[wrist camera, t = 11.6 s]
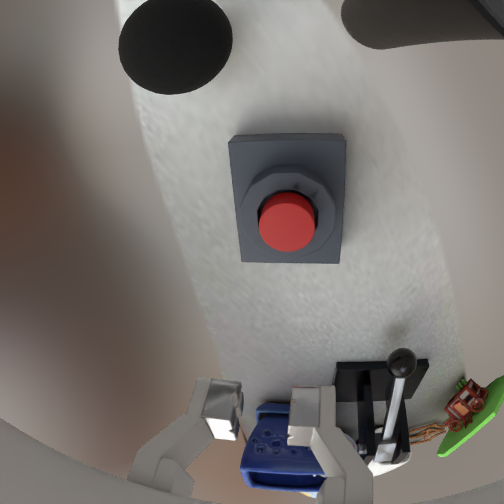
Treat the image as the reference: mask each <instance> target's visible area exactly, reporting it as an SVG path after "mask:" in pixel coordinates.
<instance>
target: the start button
mask: <svg viewBox="0 0 504 504" xmlns="http://www.w3.org/2000/svg"><path fill="white" fill-rule="evenodd" d="M259 231H260V234H261V237H262V238H263V240H264V241H265V242H266V243H267V244H268V245H269V246H270V247H272V248H274V249H276V250H279V251H284V252H291V251H296V250H299V249H301V248H303V247H305V246H306V245H307V244H308V243H309V242H310V241H311V239H312V238H313V235H314V232H315V220H314V211H313V208H312V206H311V204H310V203H309V202H308V201H307V200H306V199H305V198H304V197H302V196H301V195H298V194H296V193H291V192H284V193H279V194H276V195H274V196H273V197H271V198H270V199H269V200H268V201H267V202H266V203H265V205H264V207H263V210H262V214H261V217H260V221H259Z"/></svg>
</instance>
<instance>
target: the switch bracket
mask: <svg viewBox="0 0 504 504" xmlns="http://www.w3.org/2000/svg"><path fill="white" fill-rule="evenodd" d="M428 368H429V363H428V359H419V360H417V366H416V369H415V371H414V372H413V373H412V374H411V375H410V376H409V377H407V378H405V383H404V388H403V392H402V397H401V402H400V406H399V410H398V415H397V419H396V423H395V427H394V431H393V435H394V437H395V440H396V443H397V444H396V447H395V451H394V454H393V457H392V460H391V465H394V464H399V463H400V462H401V461H402V460H403V459H404V458H405V457H406V456H407V455H408V454H409V453H410V452H411V451H410V441H409V432H408V424H407V416H406V409H405V402H404V399H411V397H412V396H413V394H414V392H415V391H416V389H417V387H418V386H419V384H420V382H421V380H422V379H423V377H424V375H425V373H426V371H427V369H428ZM392 382H393V377H392V376H391V375H390V374H389V372H388V370H387V361H383V362H337V363H336V368H335V373H334V378H333V382H332V386H335V391H336V402H357V409H358V436H359V443H358V447H357V453H358V454H359V455H360V457H361V458H362V460H363V461H364V462H365V464H366V465H367V466H368V465H369V463H370V462H371V461H372V460H373V458H374V457H375V456H376V443H375V426H374V411H373V401H385V400H386V407H388V402H389V397H390V392H391V387H392Z"/></svg>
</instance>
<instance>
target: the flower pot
mask: <svg viewBox="0 0 504 504" xmlns="http://www.w3.org/2000/svg"><path fill="white" fill-rule="evenodd" d="M290 407H291V406H290V404H278V403H265V404H262V405H260V406H259V407H258V408H257V409H256V421H257V425H256V427H255V428H254V430H253V432H252V434H251V435H250V437H249V439H248V442H247V444H246V447H245V450H244V453H243V456H242V460H241V465H240V470H241V474H242V477H243V479H244V481H245V483H246V484H247V486H249V487H251V488H260V489H268V490H279V491H294V492H318V491H319V490H320V488H321V486H322V484H323V482H324V481H325V480H326V479H327V476H326V478H325V477H322V476H321V475H326V474H325V473H324V471H323V469H322V467H321V466H320V464H319V462H318V460H317V459H316V457H315V455H314V453H313V452H312V450H307V449H308V447H309V446H292V445H287V438H288V422H289V411H290ZM313 475H316V476H313Z"/></svg>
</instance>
